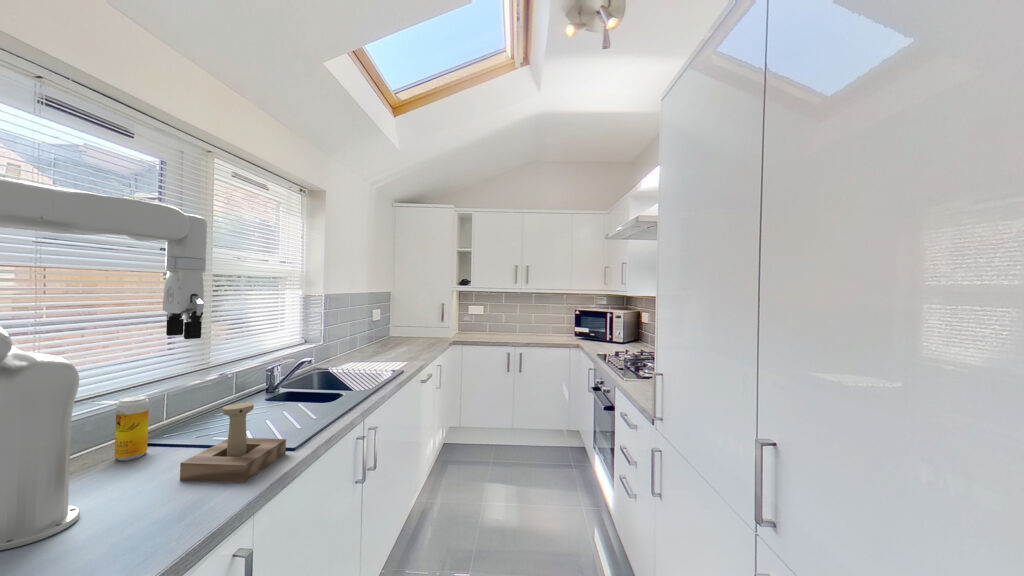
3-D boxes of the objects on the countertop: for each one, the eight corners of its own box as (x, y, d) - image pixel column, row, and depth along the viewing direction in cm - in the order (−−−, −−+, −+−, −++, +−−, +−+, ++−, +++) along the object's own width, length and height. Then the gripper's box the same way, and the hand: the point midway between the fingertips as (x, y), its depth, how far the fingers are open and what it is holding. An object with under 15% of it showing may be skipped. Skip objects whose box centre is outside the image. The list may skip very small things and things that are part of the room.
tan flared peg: (254, 465, 99) (256, 405, 99) (223, 473, 94) (225, 410, 94) (248, 459, 102) (250, 401, 102) (218, 467, 97) (220, 406, 98)
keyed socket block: (244, 482, 90) (245, 465, 90) (179, 480, 90) (180, 462, 90) (285, 453, 106) (286, 439, 106) (230, 452, 106) (230, 437, 106)
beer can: (108, 459, 100) (110, 400, 100) (136, 450, 106) (138, 394, 106) (125, 462, 99) (128, 402, 99) (153, 453, 105) (155, 396, 105)
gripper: (151, 265, 96) (149, 335, 96) (182, 264, 88) (179, 341, 87) (189, 267, 103) (186, 333, 103) (221, 266, 94) (218, 338, 94)
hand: (183, 337), depth 95 cm, fingers open, 9 cm apart
